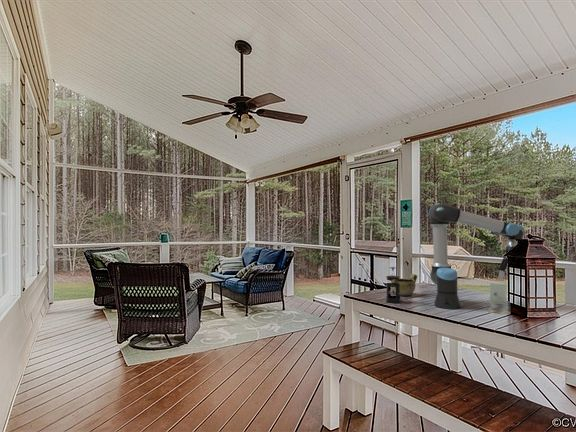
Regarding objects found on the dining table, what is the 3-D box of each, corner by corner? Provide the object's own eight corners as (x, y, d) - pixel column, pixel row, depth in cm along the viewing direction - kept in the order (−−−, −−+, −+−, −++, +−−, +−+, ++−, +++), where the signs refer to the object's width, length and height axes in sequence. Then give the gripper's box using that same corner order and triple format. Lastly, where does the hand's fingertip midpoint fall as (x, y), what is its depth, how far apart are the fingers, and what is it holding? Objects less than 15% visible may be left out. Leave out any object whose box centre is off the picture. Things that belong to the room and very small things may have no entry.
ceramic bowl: (398, 298, 249) (398, 276, 249) (383, 294, 265) (383, 273, 265) (423, 295, 257) (423, 275, 257) (408, 291, 273) (407, 272, 273)
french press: (404, 303, 234) (403, 268, 235) (391, 304, 231) (391, 268, 232) (394, 299, 245) (393, 266, 246) (381, 300, 243) (381, 266, 243)
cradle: (488, 312, 208) (488, 301, 208) (487, 310, 214) (487, 299, 214) (510, 314, 203) (510, 303, 203) (509, 312, 209) (509, 301, 209)
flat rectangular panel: (490, 310, 213) (490, 283, 214) (490, 309, 216) (489, 282, 216) (506, 311, 210) (505, 284, 210) (505, 310, 212) (505, 283, 213)
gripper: (531, 245, 216) (524, 277, 210) (508, 254, 240) (501, 284, 233) (518, 240, 217) (511, 272, 211) (496, 250, 241) (489, 279, 235)
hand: (505, 278), depth 222 cm, fingers open, 13 cm apart
